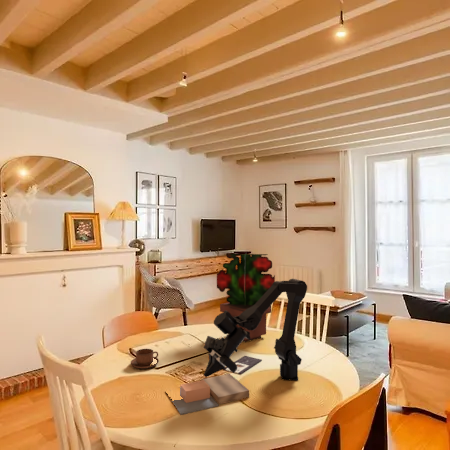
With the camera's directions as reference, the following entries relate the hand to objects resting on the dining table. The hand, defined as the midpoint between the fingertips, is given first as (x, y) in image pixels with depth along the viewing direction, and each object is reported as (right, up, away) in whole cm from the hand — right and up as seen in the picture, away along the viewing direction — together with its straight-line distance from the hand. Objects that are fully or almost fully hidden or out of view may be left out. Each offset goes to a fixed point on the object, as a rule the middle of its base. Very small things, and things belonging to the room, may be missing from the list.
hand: (204, 376), depth 135 cm
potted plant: (+18, -6, +67) cm, 70 cm away
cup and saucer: (-28, -7, +29) cm, 40 cm away
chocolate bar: (+15, -7, +29) cm, 33 cm away
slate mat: (-5, -7, -2) cm, 9 cm away
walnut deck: (+7, -7, +3) cm, 11 cm away
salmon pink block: (+1, -5, 0) cm, 5 cm away
